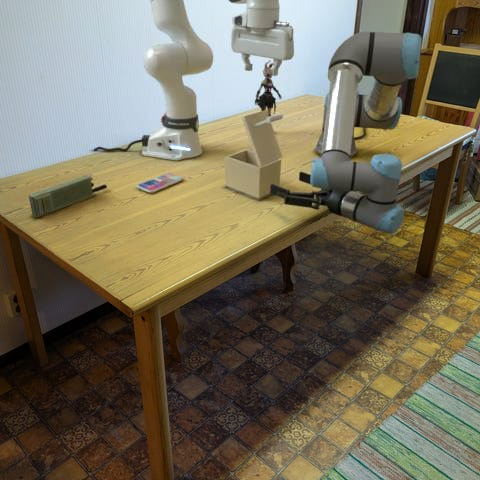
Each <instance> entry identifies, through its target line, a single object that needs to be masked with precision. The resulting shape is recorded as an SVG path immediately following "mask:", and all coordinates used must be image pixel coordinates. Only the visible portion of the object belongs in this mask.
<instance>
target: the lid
mask: <svg viewBox="0 0 480 480" xmlns="http://www.w3.org/2000/svg"><path fill="white" fill-rule="evenodd" d="M283 116H284V115H283V114H282V113H280V112H279V113H275V114H273V115H272V114H271V116H269V115H268V112H267V109H266V110H264V111H261V110H260V111H258V112H255V113H250V114H248V115H244V116H242V117H241V120H242V123H243V126H244V129H245V132H246V134H247V135H246V136H247V137H248V140H249V141H248V142H249V143H250V146H251V150H252V151H253V152H254V155H255V158H256V161H257V164H258V167H260V166H263V165H265V164H268V163H270V162H273V161H275V160H278V159H279V160H281V159H282V158H283V154H282V152H281V148H280V145H279V143H278V139H277V136H276V133H275V131H274V128H273V125H272V123H273V122H276V121H280V120H282V119H283V118H284V117H283Z"/></svg>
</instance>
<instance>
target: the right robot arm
mask: <svg viewBox="0 0 480 480" xmlns="http://www.w3.org/2000/svg"><path fill="white" fill-rule="evenodd" d="M421 48H422V36H421V35H420V34H418V33H411V32H381V31H360V32H357V33H355V34H352V35H351V36H349V37H347V38H346V40H344V41H343V42H341V44H340V45H339V46H338V47H337V49H336V50H335V51H334V53H333V55H332V56H331V59H330V61H329V64H328V68H327V69H328V70H327V79H328V81H329V91H328V93H327V94H326V96H325V98H324V105H323V107H324V108H323V117H322V118H323V119H322V129H321V133H320V136H319V138H318V140H317V143H316V145H315V153H316V154H317V156H320V157H318V158H313V160H312V163H311V169H310V173H307V172H303V171H299V173H298V174H299V175H298V181H299V182H302V183H305V184H308V185H310V186H311V187H312V188H318V189H320V190H317V191H315V190H313V191H311V192H296V191H291V189H286V188H284V187H281V186H280V187H279V186H276V185H274V184H271V186H270V194H272V196H273V195H274V196H276V197H278V198H281V199H283V205H286V206H294V207H302V208H309V209H312V210H315V211H316V210H317V211H318V210H320V207H321V206H323V207H327V209H328V212H330V213H331V214H334V215H336V216H338V217H342V218H345V219H347V220H350V221H352V222H353V223H354V222H356V223H358V224H361V225H363V226H366V227H369V228H371V229H374V230H376V231H377V232H382V233H386V234H391V235H392V234H394V233H396V232H398V230H400V228H401V226H402V225H403V224H402V223H403V222H404V219H405V209H404V208H403V207H401V206H400V205H398V204H397V197H398V191H399V187H400V181H401V178H402V176H401V175H402V167H403V162H402V160H401V159H400V158H399V157H398V156H396V155H392V154H388V153H381V154H375V155H373V156H372V157H371V160H370V162H366V161H365V162H363V161H352V160H351V159H352V158H354V157H356V155H357V144H356V140H358V139H362V138H364V137H365V136H366V135H367V132H366V129H373V130H374V129H375V130H383V131H387V130H395V128H396V127H398V124H399V122H400V119H401V116H402V110H403V101H402V98H401V97H400V96H399V94H400V90H401V88H402V86H403V84H405V83H406V82H407V81H408V80H412V79H417V78H418V76H419V70H420V59H421ZM363 77H373V82H372V87H371V91H370V92H369V93H368V94H360V91H359V84H360V83H361V81H362V80H363ZM355 128H362V129H363V130H362V131H363V134H362V135H359V136H356V137H355V133H354V132H355ZM364 193H366V194H364Z"/></svg>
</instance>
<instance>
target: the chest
mask: <svg viewBox="0 0 480 480" xmlns="http://www.w3.org/2000/svg"><path fill="white" fill-rule="evenodd" d="M281 168H282V159H278V160H275V161H273V162H270V163H268V164H265V165H263V166H260V167H258V164H257V161H256V158H255V155H254V152H253V150H252V149H248V148H245V149H243V150H240V151H238V152H234V153H231V154H229V155H226V156H224V188H225V189H228V190H230V191H233V192H236V193H238V194H241V195H243V196H246V197H248V198H251V199H254V200H256V201H262V200H263V199H266V198H268V197H270V196H273V194H270V186H271V184H274V185H276V186H279V187H281V170H282V169H281Z"/></svg>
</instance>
